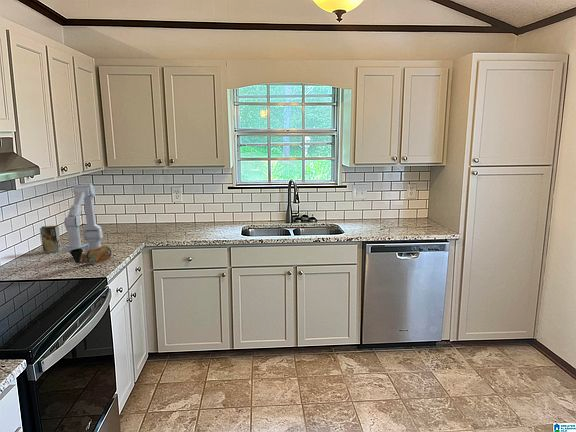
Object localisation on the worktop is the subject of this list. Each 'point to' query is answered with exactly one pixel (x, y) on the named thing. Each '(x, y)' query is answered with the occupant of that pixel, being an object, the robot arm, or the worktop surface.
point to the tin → (98, 255)
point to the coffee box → (50, 239)
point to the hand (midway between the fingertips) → (77, 262)
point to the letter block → (84, 257)
